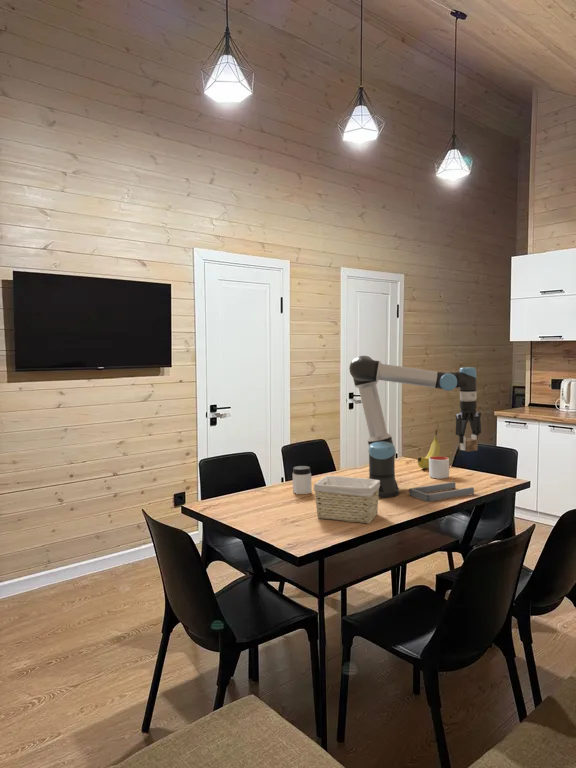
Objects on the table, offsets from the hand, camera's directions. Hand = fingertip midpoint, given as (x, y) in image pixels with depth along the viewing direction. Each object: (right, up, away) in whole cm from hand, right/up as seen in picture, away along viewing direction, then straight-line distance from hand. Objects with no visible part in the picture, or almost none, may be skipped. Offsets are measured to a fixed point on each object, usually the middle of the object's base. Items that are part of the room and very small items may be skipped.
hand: (468, 449), depth 267 cm
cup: (-7, -18, +26) cm, 33 cm away
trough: (-15, -20, -8) cm, 26 cm away
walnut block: (0, 0, 0) cm, 1 cm away
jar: (-78, -21, +2) cm, 81 cm away
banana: (-6, -16, +51) cm, 54 cm away
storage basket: (-61, -23, -38) cm, 75 cm away
